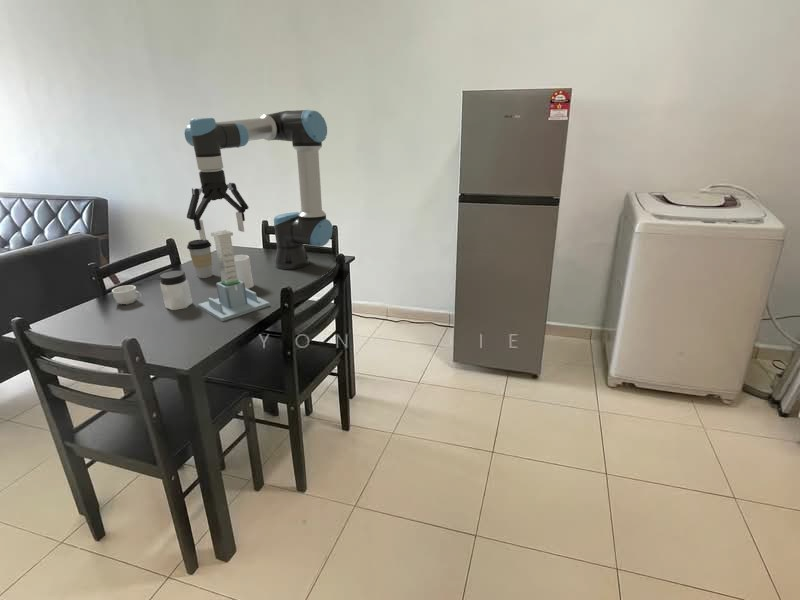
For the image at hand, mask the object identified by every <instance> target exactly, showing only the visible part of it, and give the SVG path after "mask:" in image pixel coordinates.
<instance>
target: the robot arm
mask: <svg viewBox="0 0 800 600" xmlns="http://www.w3.org/2000/svg"><path fill="white" fill-rule="evenodd" d="M327 135H328V127H327V122H326V120H325V118H324V117H323V116H322V114H321V113H320V112H319V111H317V110H313V109H312V110H311V109H304V110H302V109H301V110H299V109H298V110H284V111H283V110H281V111H277V112H273V113H269V114H263V115H261V116H260V117H256V118H248V119H236V120H227V121H217V122H216V119H215V118H213V117H200V118H199V117H198V118H197V117H196V118H190V120H189V124H188V125H187V126H186V127H185V129H184V138H185V140H186V142H187V144H189V145H190V146H192V147H193V148H194V154H195V160H196V165H197V169H198V170H199V172H198V175H199V181H200V185H201V187H199V188H196V187H192V188H191V193H192V194H191V198H190V203H189V206H188V210H187V214H186V218H187V219H188V220H193V223H194V228H195V230H196V231H198V233H199V240H201V239H202V240H207V236H206V232H205V226H204V222H203V221H204V220H203V219H201V217H202V216H203V214H204V212H205V211H206V208H207V207H208V206H209V203H211V202H212V201H217V200H223V199H224V200H225V201H226V202H228V203H229V205H230V206H232V207H233V208H234V209H235V210H236V211H235V216H236V217H235V218H236V222H237V224H236V225H237V229H238V232H241V233H245V226H244V222H245V220H246V218H245V212H246V210H249V205H248V204H247V203H246V201H245V199H244V197H243V196H242V195H241V194H240V192H239V190H238V187H237V185H236V183H234V182H229V183H227V182H226V175H225V171H224V170H223V168H224V163H223V157H222V152H221V150H224V149H232V148H241V147H245V146H246V145H247V144H248V142H250V141H257V140H263V139H264V140H265V141H268V142H270V141H282V142H292V148H293V149H295V150H296V159H297V168H298V169H297V170H298V182H299V197H300V198H299V199H300V209H301V211H300V212H298V211H296V212H287V213H282V214H278V215H275V216H274V219H273V228H274V235H275V242H276V252H275V258H274V266H275V268H277V269H281V270H295V269H302V268H304V267H306V266H308V265H309V264H310V259H309V256H308V254H307V252H306V249H305V246H312V247H324V246H325V245H327V244H328V243H329V241H330V239H331V238H332V235H333V224H332V223H331V221H330V220H329V219H327V213H326V212H325V211H324V210H323V204H322V187H321V186H322V185H321V173H320V172H321V170H320V169H321V168H320V153H319V151H320V149H321V148H322V147H323V143H322V142H324V141H325V140H326V138H327ZM228 190H230V191H231V193H232V195H233V197H234V198H235V200H236V201H235V200H234V199H233V198H232V197H231V195H229V194H228V193H227V191H228ZM201 194H203V197H202V198H201V201H200V203H199V199H200V196H201ZM198 203H199V205H198ZM304 245H305V246H304Z"/></svg>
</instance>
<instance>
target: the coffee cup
mask: <svg viewBox="0 0 800 600" xmlns="http://www.w3.org/2000/svg"><path fill="white" fill-rule="evenodd" d="M211 247H212V243H211V242H210V241H209V239H206V240H202V239H195V240H190V241H189V242H188V244H187V245H186V248H187V250H188V251H189V255H190V258H191V261H192V264H193V267H194V270H195V273H196V277H198V278H199V279H206V278H210V277H212V276H213V267H212V265H213V261H212V260H213V259H212V250H211Z"/></svg>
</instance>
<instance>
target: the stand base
mask: <svg viewBox="0 0 800 600" xmlns="http://www.w3.org/2000/svg"><path fill="white" fill-rule="evenodd" d="M215 285H216V290H217V297H218V298H217V297H216V298H212V297H208V300H207V301H205V302H201V303H198V304H197V307H198V308H199V309H201V310H202V311H204V312H205V313H208V314H209V315H211V316H212V317H214V318H215V319H217V320H218V321H221V322H225V321H229V320H231V319H234V318H237V317H240V316H242V315H246V314H249V313H252V312H255V311H259V310H261V309H264V308H267V307H269V306H271V304H270V302H269V301H267V300H265V299H263V298H261V297H258V296H257V292H255V291H253V290H250V288H249V289H247V288H245V283H244V282H242V281H240V280H239V283H238V284H235V285H231V286H227V287H226V286H224V285H222V283H221V281H219V282H216V283H215Z"/></svg>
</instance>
